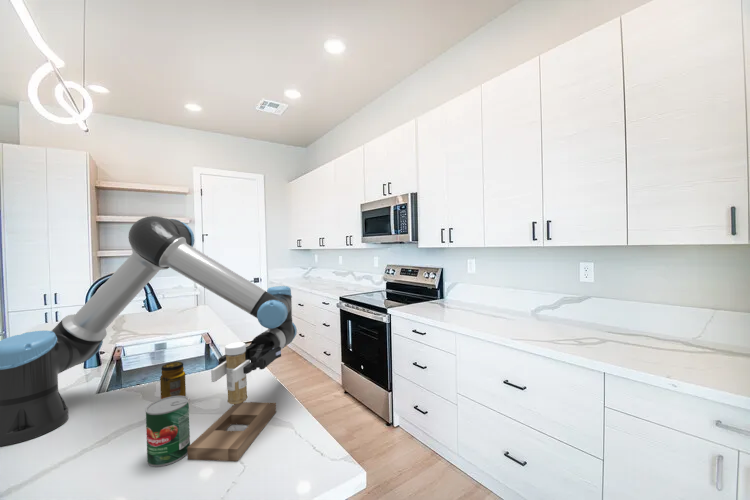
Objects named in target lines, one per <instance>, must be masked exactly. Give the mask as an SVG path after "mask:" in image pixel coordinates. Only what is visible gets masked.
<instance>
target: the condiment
mask: <svg viewBox="0 0 750 500" xmlns="http://www.w3.org/2000/svg"><path fill="white" fill-rule="evenodd" d="M159 382H160V383H159V384H160V386H159V387H160V399H163V398H167V397H172V396H186V397H187V393H186V391H187V390H186V389H187V388H186V371H184V362H182V361H173V362H171V361H170V362H168V363H165V364H163V365H162V367H161V376H160V378H159ZM190 399H191V398H189V401H190Z"/></svg>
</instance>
